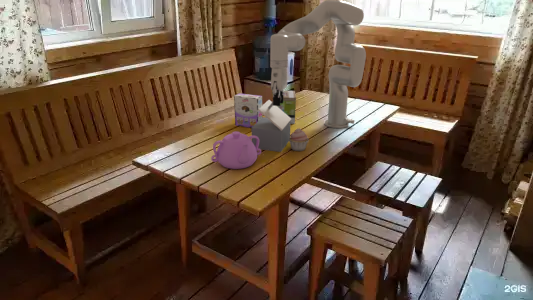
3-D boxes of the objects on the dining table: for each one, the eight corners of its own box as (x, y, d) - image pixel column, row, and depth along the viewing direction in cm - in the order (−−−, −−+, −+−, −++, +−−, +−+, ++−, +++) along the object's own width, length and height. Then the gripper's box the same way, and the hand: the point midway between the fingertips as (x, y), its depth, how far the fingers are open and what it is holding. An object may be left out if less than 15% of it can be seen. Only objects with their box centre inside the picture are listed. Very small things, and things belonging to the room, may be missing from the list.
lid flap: (290, 120, 197) (302, 106, 193) (281, 130, 183) (294, 116, 179) (268, 100, 197) (279, 86, 192) (257, 110, 183) (269, 95, 179)
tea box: (295, 124, 222) (296, 97, 217) (276, 123, 222) (277, 97, 217) (294, 115, 236) (295, 90, 230) (276, 115, 236) (277, 89, 231)
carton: (290, 139, 201) (290, 120, 197) (281, 151, 187) (281, 131, 183) (262, 136, 205) (262, 117, 201) (251, 148, 191) (251, 127, 187)
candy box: (262, 125, 219) (262, 95, 213) (257, 129, 215) (257, 98, 208) (239, 122, 225) (239, 92, 218) (234, 125, 220) (233, 95, 214)
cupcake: (305, 154, 185) (306, 132, 181) (285, 151, 188) (286, 130, 184) (310, 146, 193) (311, 126, 189) (291, 143, 196) (292, 123, 192)
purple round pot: (221, 180, 161) (220, 147, 155) (206, 159, 179) (204, 129, 174) (273, 171, 169) (273, 139, 163) (253, 151, 187) (253, 122, 182)
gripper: (281, 67, 172) (280, 110, 179) (292, 60, 187) (291, 100, 194) (264, 66, 174) (264, 108, 181) (276, 59, 189) (275, 98, 196)
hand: (278, 103), depth 187 cm, fingers closed on lid flap, 4 cm apart
